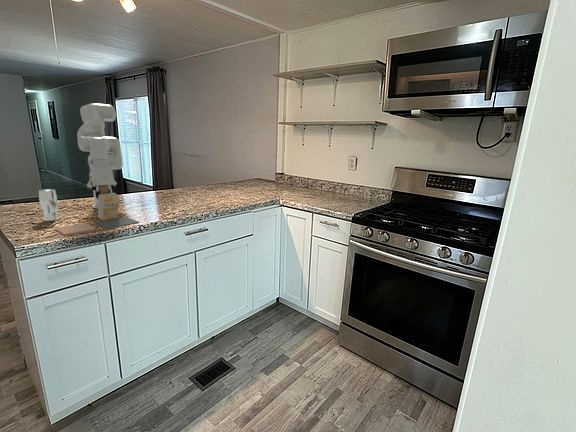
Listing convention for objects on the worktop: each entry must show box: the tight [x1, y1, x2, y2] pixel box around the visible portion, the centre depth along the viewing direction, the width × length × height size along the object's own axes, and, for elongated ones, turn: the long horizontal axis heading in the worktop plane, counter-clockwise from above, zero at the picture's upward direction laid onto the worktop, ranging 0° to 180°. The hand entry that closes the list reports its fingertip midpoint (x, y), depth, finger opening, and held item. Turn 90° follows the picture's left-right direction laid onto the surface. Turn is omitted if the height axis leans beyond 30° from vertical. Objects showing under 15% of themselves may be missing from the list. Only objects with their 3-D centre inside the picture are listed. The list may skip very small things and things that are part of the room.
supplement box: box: [97, 192, 120, 221], centre depth 159 cm, size 8×5×13 cm, turn 150°
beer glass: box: [38, 188, 60, 222], centre depth 155 cm, size 7×7×15 cm
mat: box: [94, 216, 140, 230], centre depth 155 cm, size 13×16×1 cm
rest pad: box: [55, 223, 96, 237], centre depth 142 cm, size 12×12×1 cm
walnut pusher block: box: [99, 185, 109, 194], centre depth 160 cm, size 4×4×10 cm
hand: (103, 197), depth 160 cm, fingers closed on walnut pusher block, 4 cm apart
